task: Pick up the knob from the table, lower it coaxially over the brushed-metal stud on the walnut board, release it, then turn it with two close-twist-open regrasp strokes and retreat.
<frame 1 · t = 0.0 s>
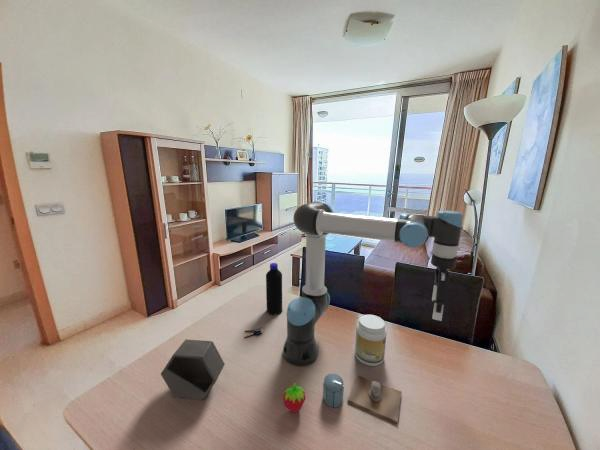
hand: (436, 309, 89), 28 cm above the table, fingers open, 13 cm apart
bottle: (274, 311, 137), on the table
strawberry: (294, 410, 80), on the table
planter: (195, 389, 87), on the table
supplement tub: (369, 356, 104), on the table
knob: (332, 398, 84), on the table
stud board: (374, 397, 85), on the table
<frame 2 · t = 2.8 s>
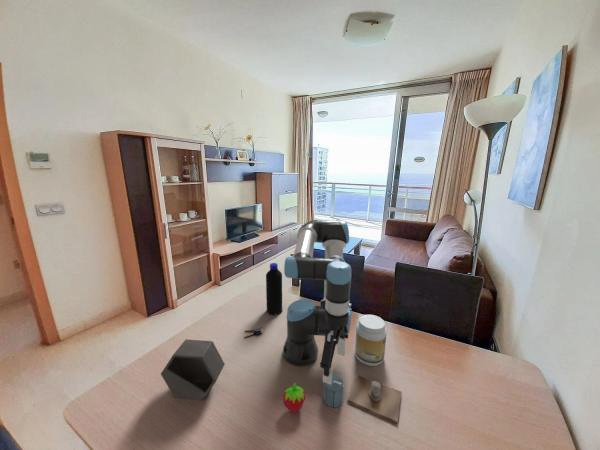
hand: (334, 367, 81), 13 cm above the table, fingers open, 13 cm apart
nothing on the table moved.
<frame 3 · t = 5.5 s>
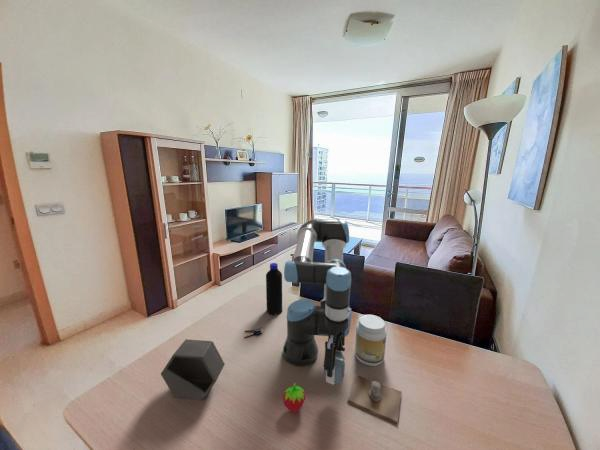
hand: (333, 374, 83), 9 cm above the table, fingers closed on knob, 7 cm apart
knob: (333, 374, 83), point 9 cm above the table, touching gripper
everything else where it was.
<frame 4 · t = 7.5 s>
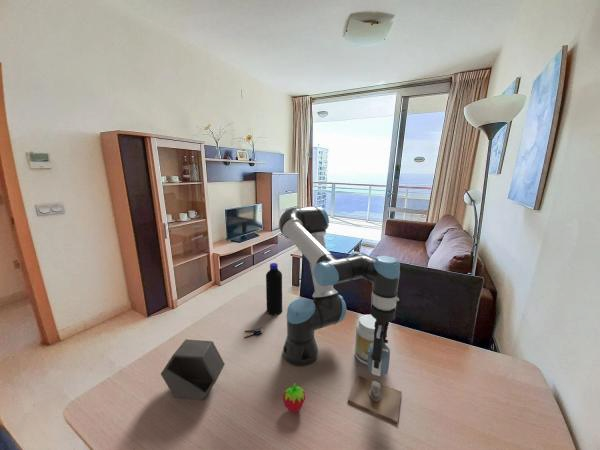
hand: (378, 366, 82), 13 cm above the table, fingers closed on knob, 7 cm apart
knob: (377, 367, 82), point 13 cm above the table, touching gripper
everything else where it was.
when the fingers open (2 cm above the table, at t = 10.1 s): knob drops 1 cm, resting on stud board.
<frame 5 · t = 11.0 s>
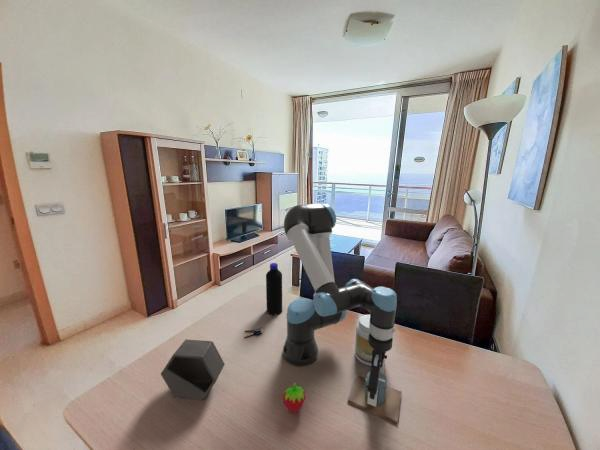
hand: (375, 388, 84), 4 cm above the table, fingers open, 13 cm apart
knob: (375, 395, 85), point 1 cm above the table, touching stud board
everything else where it was.
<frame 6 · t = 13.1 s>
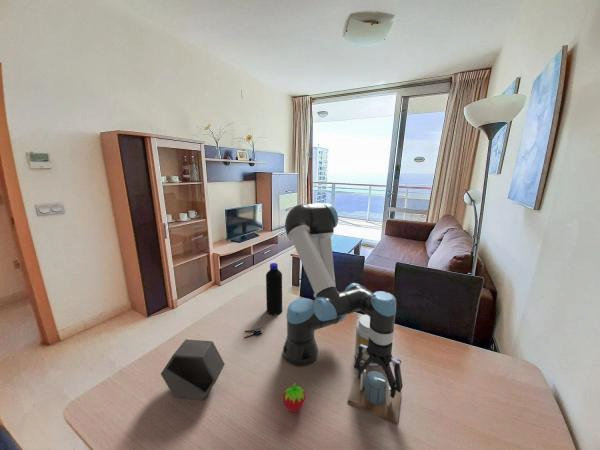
hand: (375, 394, 85), 1 cm above the table, fingers closed on stud board, 9 cm apart
nothing on the table moved.
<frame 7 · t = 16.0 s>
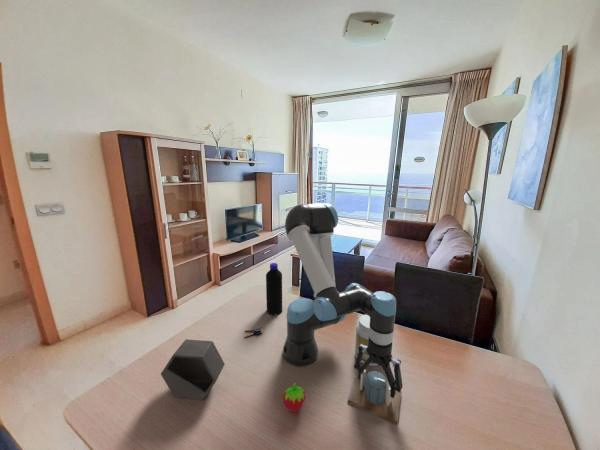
hand: (375, 394, 85), 1 cm above the table, fingers closed on stud board, 9 cm apart
nothing on the table moved.
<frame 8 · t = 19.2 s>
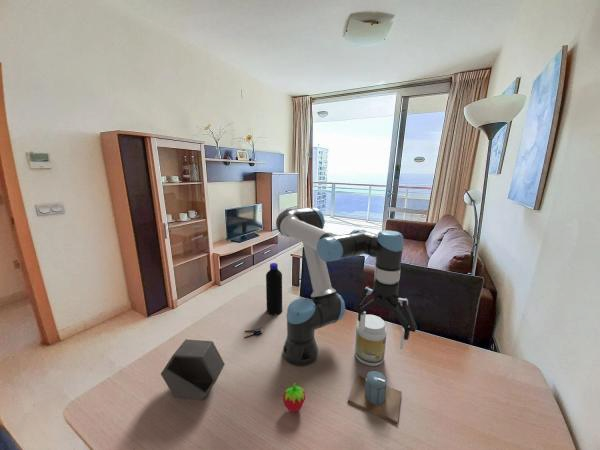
hand: (381, 337, 82), 23 cm above the table, fingers open, 13 cm apart
nothing on the table moved.
at the end: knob 0.0 cm off-centre on the stud board, point 1.0 cm above the stud board's base; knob tilted 0°; the gripper is holding nothing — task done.
